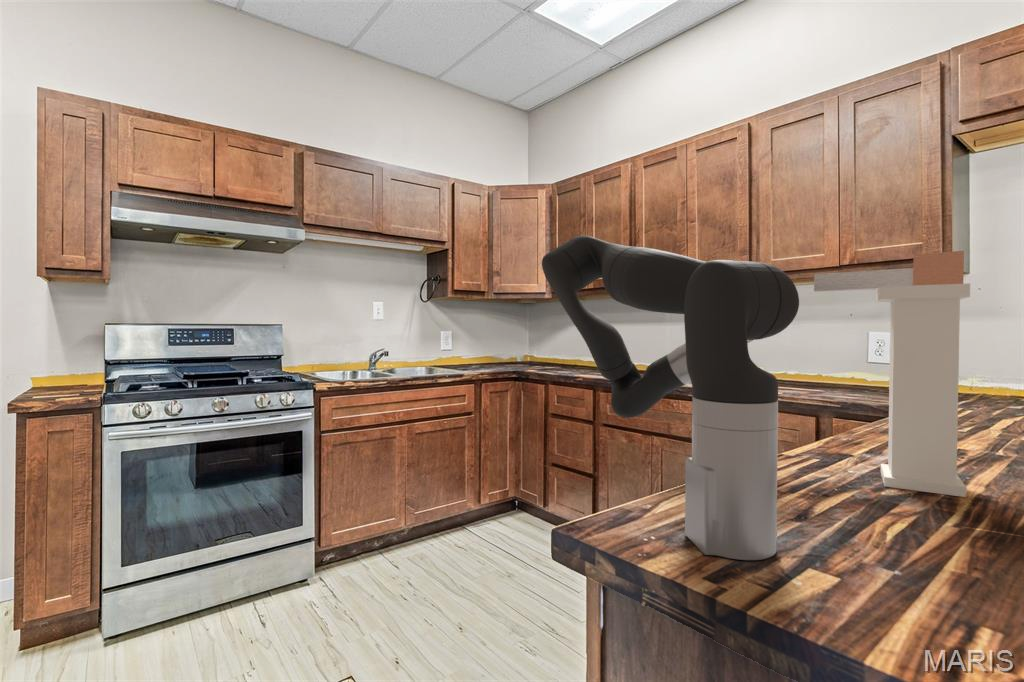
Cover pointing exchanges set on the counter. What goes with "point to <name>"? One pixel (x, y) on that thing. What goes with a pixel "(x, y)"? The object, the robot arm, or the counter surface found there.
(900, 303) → the stand
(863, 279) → the peg
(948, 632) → the counter surface
